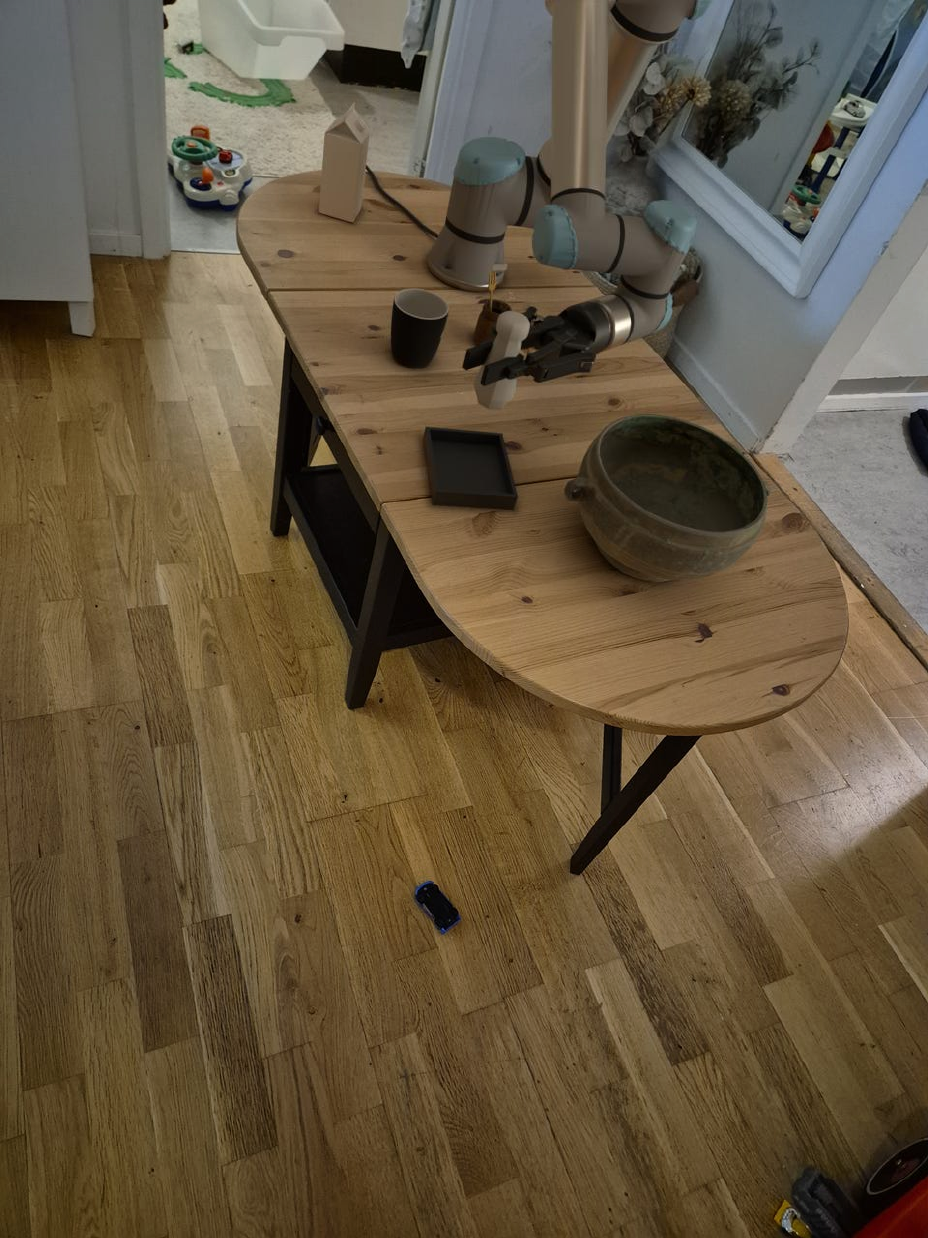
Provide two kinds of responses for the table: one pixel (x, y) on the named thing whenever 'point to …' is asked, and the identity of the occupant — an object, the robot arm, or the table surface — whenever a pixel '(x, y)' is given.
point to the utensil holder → (490, 313)
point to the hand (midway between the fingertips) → (475, 367)
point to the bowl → (668, 498)
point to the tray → (469, 468)
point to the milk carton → (344, 166)
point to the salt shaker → (505, 345)
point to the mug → (417, 326)
